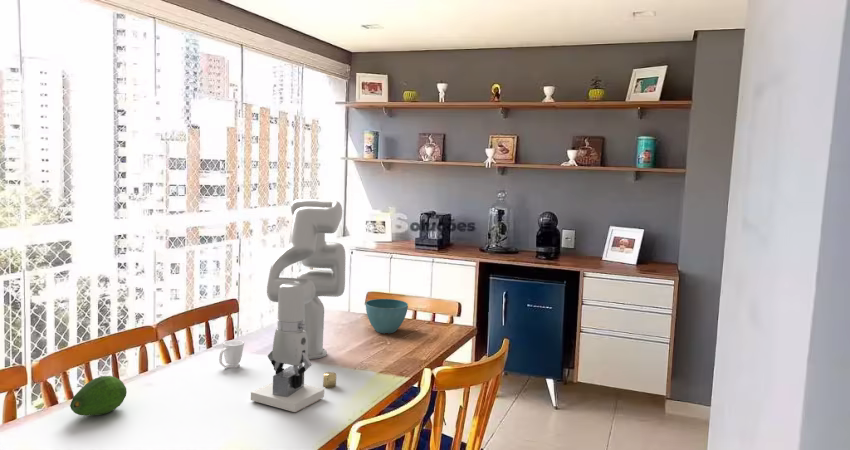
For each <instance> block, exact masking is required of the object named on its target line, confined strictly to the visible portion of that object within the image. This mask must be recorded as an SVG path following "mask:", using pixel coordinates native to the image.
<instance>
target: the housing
mask: <svg viewBox="0 0 850 450" xmlns="http://www.w3.org/2000/svg"><path fill="white" fill-rule="evenodd" d="M298 369H299V366H298ZM294 375H296V374H295V371H294V367H293V366H292V365H289V366H288V367H287V368H284V370H283V371H281V372H279V373H277V374H276V373H275V374H274V375H273V376H272V383H273V395H277V396H283V397H289V396H290V395H292V394H293V393H295V392H296V391H298V390H299V389H301V388H302V387H304V384H305V372H304V373H303V374H302V385H301V387H298V388H296V389H294V388H293V379H294Z"/></svg>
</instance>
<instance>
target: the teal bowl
mask: <svg viewBox="0 0 850 450" xmlns="http://www.w3.org/2000/svg"><path fill="white" fill-rule="evenodd" d="M408 309H409V303H407V302H406V301H404V300H399V299H394V298H375V299H370V300H369V299H368V300H367V301H366V302H365V310H366V316H367V319H368V320H369V321H368V322H370V324H371V327H372V328H373V329H374V331H376V332H377V333H379V334H385V333H388V334H393V333H396V332H397V330H398V329H400V327H401V326H402V324H403V322H404V321H405V318H406V315H407V313H408Z"/></svg>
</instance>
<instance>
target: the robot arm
mask: <svg viewBox="0 0 850 450" xmlns="http://www.w3.org/2000/svg"><path fill="white" fill-rule="evenodd" d="M290 207H291V208H290V209H291V215H292V222H291V228H290V229H291V230H290V235H289V239H288V240H289V242H288V247H287V248H286V249H284V250H283V251H282V252H281V253H280V254H279V255H278V256H277V257H276V258H275V259H274V261H273V263H272V265H271V266H270V269H269V274H268V279H267V286H266V296H267V298H268V299H269V301H271V302H273V303H278V304H277V327H276V329H275V331H274V336H273V344H272V350H271V351H270V352H269V353H268V355H267V358H268V359H269V361H270V364H271V365H272V367H273V370H274V371H275V375H276V374H277V373H279V372H281V371H283V370H284V369H285V368H284V366H285V365H289V366H293V367H294V371H295V374H296V375H294V379H293V388H294V389H296V388H298V387H301V385H302V374H303V373H304V374H305V372H306V371H307V370H308V369H309V368H311V367H312V365H313V363H312V361H310V360H316V359H322V358H324V357H326V355H327V353H328V351H327V349H325V348H324V347H323V346H324V329H325V328H324V326H325V325H324V323H325V306H324V304H323V301H322V300H321V299H320V298H319V297H333V298H335V297H341V296H342V295H343V294H344V292H345V287H346V249H345V247H344V245H343V244H341V243H339V242H330V241H326V234H334V233H336V232H337V230H338V228H339V226H340V224H341V220H342V217H343V207H342V204H341V203H340V201H337V200H331V199H330V200H329V199H328V200H325V199H317V198H316V199H314V198H312V199H310V198H298V199H294V200H293V201H292V203H291V206H290ZM300 261H301V264H302V265H303V266H304V267H306V268H312V269H304V270H301V271H299V272H298V273H297V276H296V277H280V276H281V273H282V272H283V270H285V269H286V268H288V267H289V266H291V265H293V264H296V263H298V262H299V263H300ZM313 268H314V269H313ZM327 269H329V270H327ZM298 367H299V369H298Z"/></svg>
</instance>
